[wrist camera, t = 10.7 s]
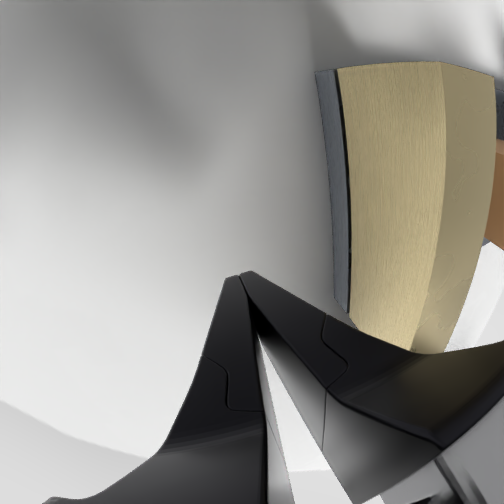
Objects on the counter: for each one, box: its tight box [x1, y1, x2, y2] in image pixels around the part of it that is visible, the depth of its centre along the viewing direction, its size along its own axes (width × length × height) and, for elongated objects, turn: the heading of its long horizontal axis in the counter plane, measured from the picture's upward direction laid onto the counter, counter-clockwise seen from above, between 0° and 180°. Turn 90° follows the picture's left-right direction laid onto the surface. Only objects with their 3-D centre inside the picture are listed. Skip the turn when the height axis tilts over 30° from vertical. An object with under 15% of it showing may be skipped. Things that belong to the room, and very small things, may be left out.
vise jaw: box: [337, 62, 496, 354], centre depth 9 cm, size 12×3×5 cm, turn 11°
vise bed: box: [315, 69, 504, 313], centre depth 11 cm, size 12×22×7 cm, turn 101°
